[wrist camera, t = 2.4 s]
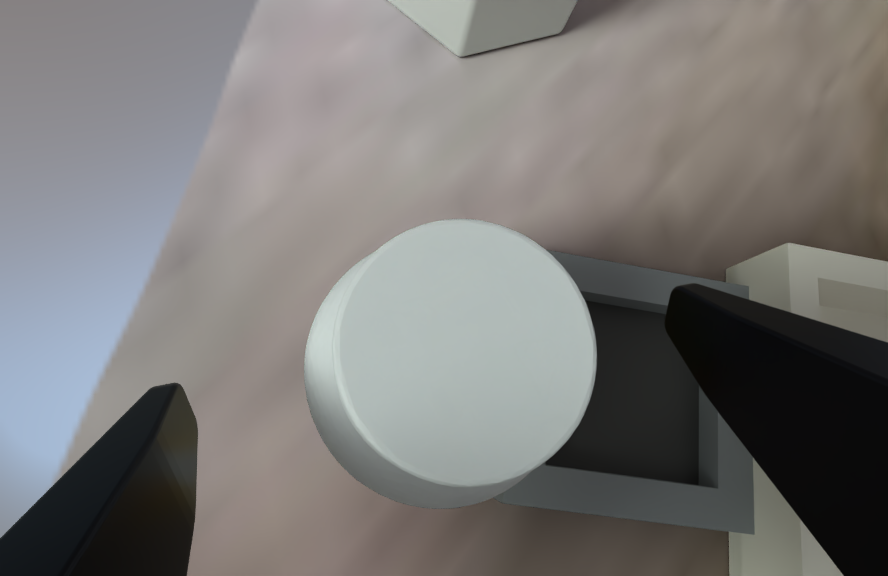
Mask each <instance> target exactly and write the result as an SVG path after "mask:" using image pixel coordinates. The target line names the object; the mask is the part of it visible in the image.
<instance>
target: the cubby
mask: <svg viewBox="0 0 888 576" xmlns="http://www.w3.org/2000/svg"><path fill="white" fill-rule="evenodd" d="M726 282H727V283H733V284H738V285H744V286H749V300H752V301H755V302H759V303H762V304H765V305H768V306H772V307H775V308H778V309H781V310H785V311H788V312H791V313H794V314H797V315H801V316H804V317H807V318H810V319H814V320H817V321H820V322H823V323H827V324H830V325H833V326H836V327H839V328H843V329H846V330H849V331H852V332H856V333H859V334H862V335H865V336H869V337H872V338H875V339H878V340H881V341H885V342H888V262H887V261H881V260H876V259H871V258H866V257H860V256H855V255H850V254H845V253H840V252H834V251H829V250H824V249H819V248H814V247H808V246H803V245H798V244H793V243H785V244H783V245H781V246H778V247H776V248H774V249H771V250H769V251H767V252H764V253H762V254H760V255H757V256H755V257H753V258H750V259H748V260H746V261H743V262H741V263H738V264H736V265H734V266H731V267H729V268H727V269H726ZM753 483H754V525H755V535H751V534H743V533H735V532H729V576H843V574H842V573H841V572H840V570H839V569H838V568H837V567H836V565H835V564H834V563H833V561H832V560H831V559H830V557H829V556H828V555H827V553H826V552H825V551H824V550H823V548H822V547H821V546H820V544H819V543H818V542H817V540H816V539H815V538H814V537H813V535H812V534H811V533H810V531H809V530H808V529H807V527H806V526H805V525H804V524H803V522H802V521H801V520H800V518H799V517H798V516H797V514H796V513H795V512H794V510H793V509H792V508H791V507H790V505H789V504H788V503H787V501H786V500H785V499H784V497H783V496H782V495H781V494H780V492H779V491H778V490H777V488H776V487H775V486H774V484H773V483H772V482H771V480H770V479H769V478H768V477H767V475H766V474H765V473H764V471H763V470H762V469H761V467H760V466H759V465H758V464H757V462H756V461H755V460H754V458H753Z"/></svg>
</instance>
